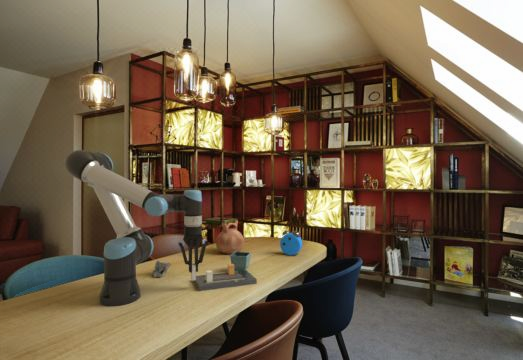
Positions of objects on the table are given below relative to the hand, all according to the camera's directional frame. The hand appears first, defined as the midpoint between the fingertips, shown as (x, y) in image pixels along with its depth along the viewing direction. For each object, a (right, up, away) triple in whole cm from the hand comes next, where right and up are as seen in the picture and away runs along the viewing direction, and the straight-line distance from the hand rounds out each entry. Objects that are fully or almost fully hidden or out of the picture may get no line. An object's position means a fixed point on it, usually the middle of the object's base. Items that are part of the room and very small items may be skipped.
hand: (193, 279), depth 139 cm
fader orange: (+15, -2, +13) cm, 20 cm away
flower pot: (+19, -4, +26) cm, 32 cm away
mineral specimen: (-20, -4, +20) cm, 29 cm away
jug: (+9, -4, +67) cm, 68 cm away
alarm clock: (+48, -4, +61) cm, 78 cm away
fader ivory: (+6, -2, +3) cm, 7 cm away
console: (+13, -4, +9) cm, 16 cm away
